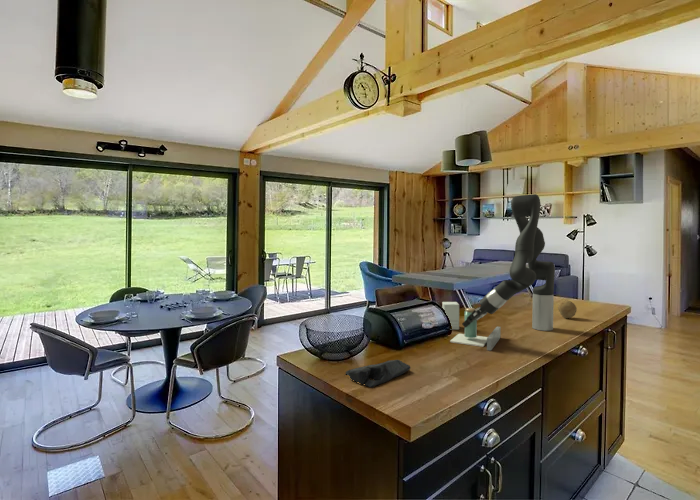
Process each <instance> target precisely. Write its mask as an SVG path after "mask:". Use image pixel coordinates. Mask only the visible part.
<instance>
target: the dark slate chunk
mask: <svg viewBox="0 0 700 500" xmlns="http://www.w3.org/2000/svg"><path fill="white" fill-rule="evenodd" d="M410 370H411V366H410V365H409V364H407V363H405V362H403V361H402V360H400V359H392V360H386V361H384V362H380V363H375V364H368V365H363V366H360V367H356V368H352V369H349V370H346V371H345V373H346V374H347V375H349V376H350V378H351V379H352V380H354V381H356V382H359V383H361V384H365V385H366V386H365V387H369V388H375V387H376V386H378V385H381V384H384V383H387V382H389V381H391V380H392V379H395V378H397V377H400V376H402V375H403V374H405V373H406V372H408V371H410ZM346 374H345V375H346ZM371 378H372V379H371ZM351 379H350V380H351ZM373 379H374V380H373ZM352 380H351V381H352ZM374 386H375V387H374Z"/></svg>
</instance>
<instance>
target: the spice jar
mask: <svg viewBox="0 0 700 500" xmlns="http://www.w3.org/2000/svg"><path fill="white" fill-rule="evenodd" d="M476 309H477V308H474V307H466V308H465V310H464V322H465V321H466V320H467V317H468V316H469V315H470V314H471V313H472V312H473V311H475V310H476ZM471 319H472V318H471ZM477 326H478V320H474V321H473V322H472V323H471V324H469V325H468V326H467V327H464V326H463V327H464V333H463V334H464V336H465V337H468V338H475V337H477V336H478V333H477V331H478V329H477V328H478V327H477Z"/></svg>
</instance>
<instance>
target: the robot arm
mask: <svg viewBox="0 0 700 500" xmlns="http://www.w3.org/2000/svg"><path fill="white" fill-rule="evenodd" d="M510 208H511V213H512V216H513V218H514V220H515V222H516V226H517V227H518V231H519V235H518V236H517V238H516V240H515V241H516V242H515V246H514V257H513V259H512V262H511V264H510V265H511V266H510V268H509V277H510V280H509V279H504V280H502V281H501V282H500V283H499V284H497V285H496V286H495V287H494V288H493V289H491V290H490V291H489V292H487V294H486V295H484V296H483V297H482V298H481V299H480V300H479V305H480V306H478V307H476V308H475V309H476V310H475V311H473V312H472V313H471V314H470V315H469V316H468V317H467V320H466V321H465V320H464V321H463V322H462V326H463V327H467V326H468V325H469V324H471V323H472V322H473V321H474V320H477V321H479V320H480V319H482V318H484V316H486V315H488V314H491V315H492V314H493V315H494V314H495V313H496V312H497V311H498V310H499V309H500V308H502V307H503V306H504V305H505V304H506V303H507V302H508V301H509V300H510V299H511V298H512V297H513V296H514V295H515V294H518V293H520V292H522V291H524V290H525V289H528V288H529V287H530V286H531V287H532V285H533V284H534V283H535V281H536V280H538V281H545V283H544V284H542V285H539V286H534V287H533V288H532V311H531V314H532V318H531V319H532V320H531V321H532V322H531V323H532V325H531V326H532V327H531V328H532V329H533V330H538V331H545V332H546V331H553V330H554V305H555V303H554V302H555V301H554V298H555V297H554V294H555V293H554V290H555V275H556V267H555V266H556V265H555V263H554V262H553V261H542V260H541V261H540V260H537V259H538V257H539V256H540V255H541V253H542V252H543V250H544V249H545V247H546V241H545V237H544V233H543V231H542V230H541V229H540V228H539V227H538V224H539V219H540V214H541V199H540V197H539V195H538V194H536V193H535V194H534V193H533V194H532V193H531V194H524V195H523V194H522V195H516V196H513V197H512V198H511V201H510ZM527 217H529V219H528V218H527ZM527 265H528V267H527ZM471 318H472V319H471Z"/></svg>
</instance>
